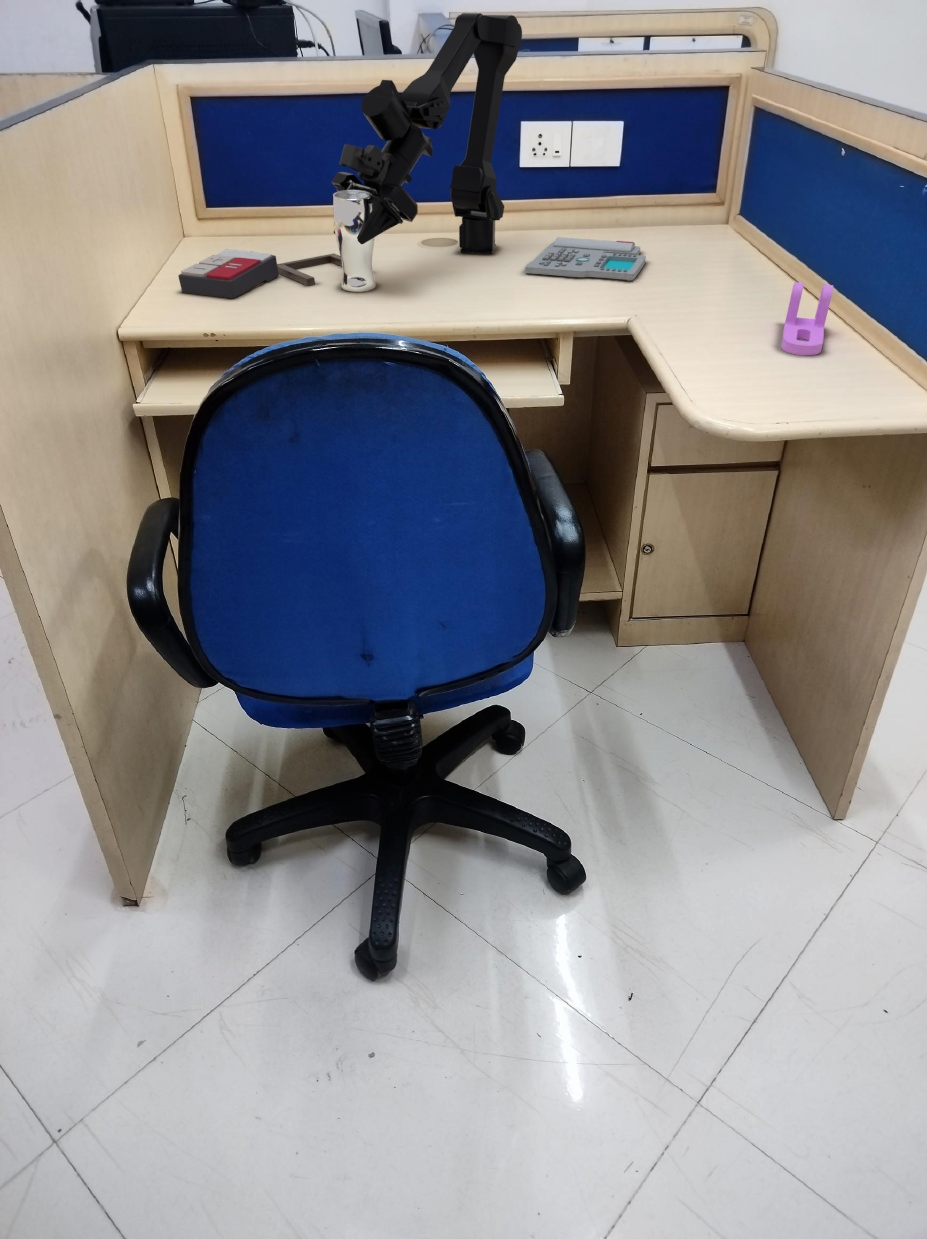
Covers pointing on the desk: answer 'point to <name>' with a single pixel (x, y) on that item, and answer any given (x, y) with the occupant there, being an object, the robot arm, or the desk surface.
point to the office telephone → (589, 259)
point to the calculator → (228, 273)
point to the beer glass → (354, 239)
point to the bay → (289, 267)
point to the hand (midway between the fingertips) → (347, 238)
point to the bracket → (805, 323)
